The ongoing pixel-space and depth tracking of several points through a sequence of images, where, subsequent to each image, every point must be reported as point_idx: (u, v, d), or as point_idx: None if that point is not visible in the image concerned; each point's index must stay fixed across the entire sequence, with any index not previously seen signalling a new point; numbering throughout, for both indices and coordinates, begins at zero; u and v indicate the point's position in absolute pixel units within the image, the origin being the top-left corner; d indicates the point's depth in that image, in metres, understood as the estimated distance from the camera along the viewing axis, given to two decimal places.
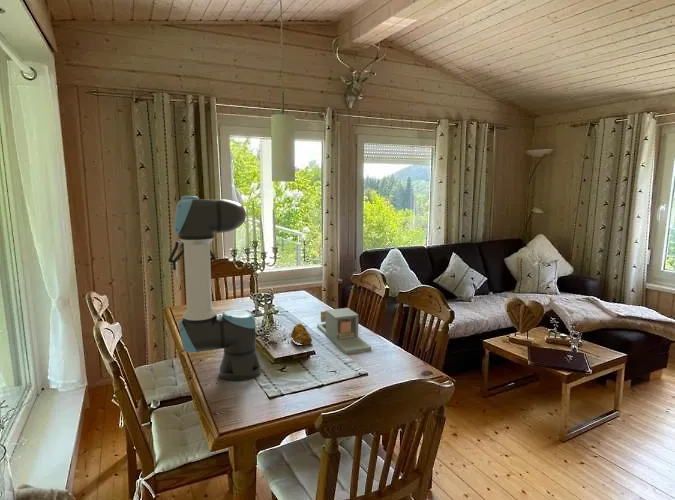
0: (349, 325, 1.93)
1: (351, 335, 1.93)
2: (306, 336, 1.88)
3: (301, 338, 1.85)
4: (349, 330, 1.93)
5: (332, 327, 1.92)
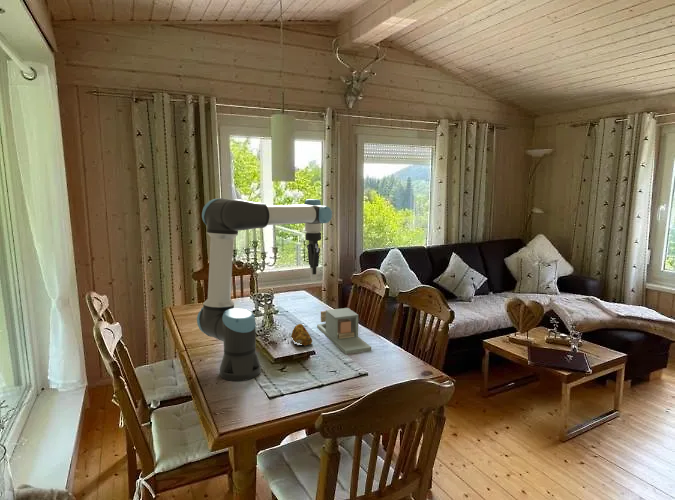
0: (349, 325, 1.93)
1: (351, 335, 1.93)
2: (306, 336, 1.87)
3: (301, 338, 1.85)
4: (349, 330, 1.93)
5: (332, 327, 1.92)
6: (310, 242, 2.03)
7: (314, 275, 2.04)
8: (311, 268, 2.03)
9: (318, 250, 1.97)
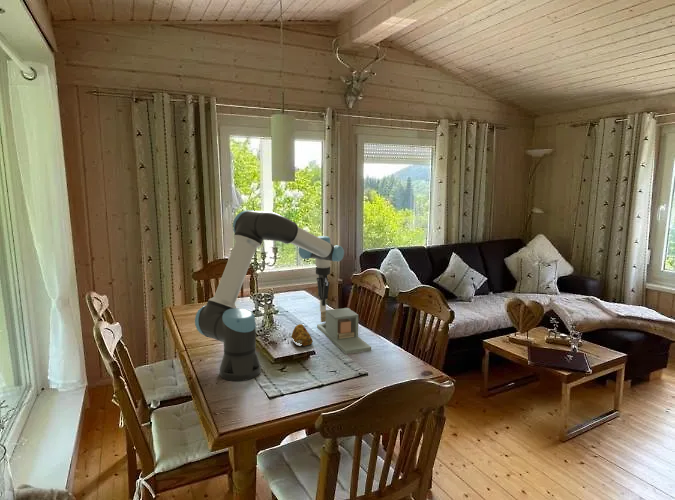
0: (349, 325, 1.93)
1: (351, 335, 1.93)
2: (307, 337, 1.87)
3: (302, 339, 1.85)
4: (349, 330, 1.93)
5: (332, 327, 1.92)
6: (320, 276, 2.18)
7: (323, 306, 2.19)
8: (321, 300, 2.18)
9: (328, 284, 2.13)
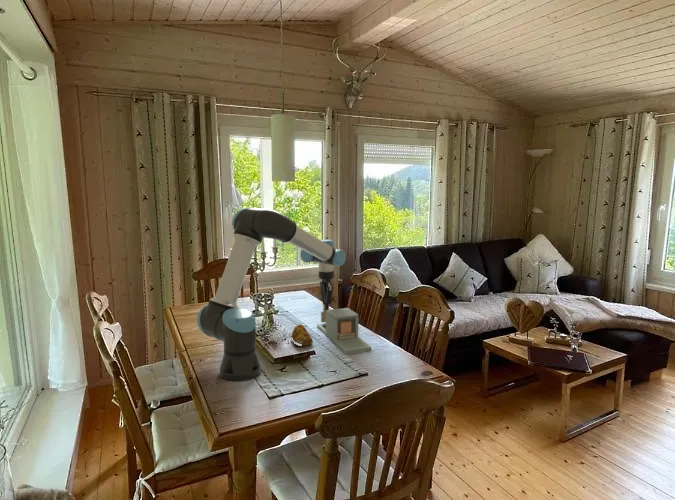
0: (349, 325, 1.92)
1: (351, 335, 1.92)
2: (307, 337, 1.87)
3: (302, 339, 1.84)
4: (349, 330, 1.93)
5: (332, 327, 1.92)
6: (323, 280, 2.14)
7: None
8: (324, 304, 2.14)
9: (331, 288, 2.08)
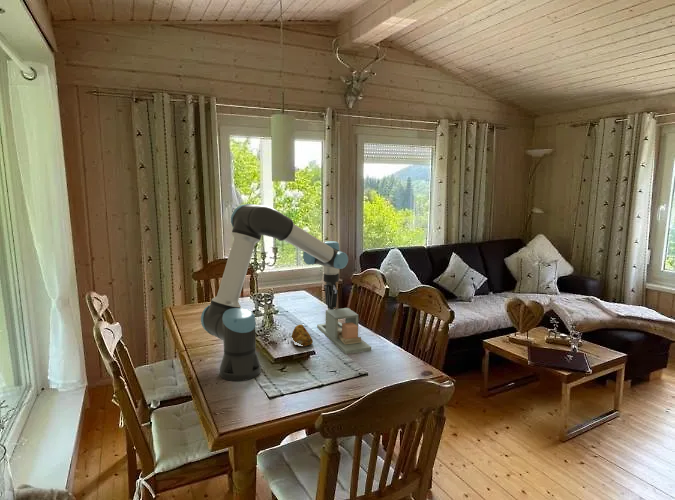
0: (356, 330, 1.86)
1: (358, 340, 1.86)
2: (307, 337, 1.87)
3: (302, 339, 1.84)
4: (356, 335, 1.87)
5: (332, 327, 1.92)
6: (328, 283, 2.07)
7: None
8: (329, 308, 2.08)
9: (336, 292, 2.02)
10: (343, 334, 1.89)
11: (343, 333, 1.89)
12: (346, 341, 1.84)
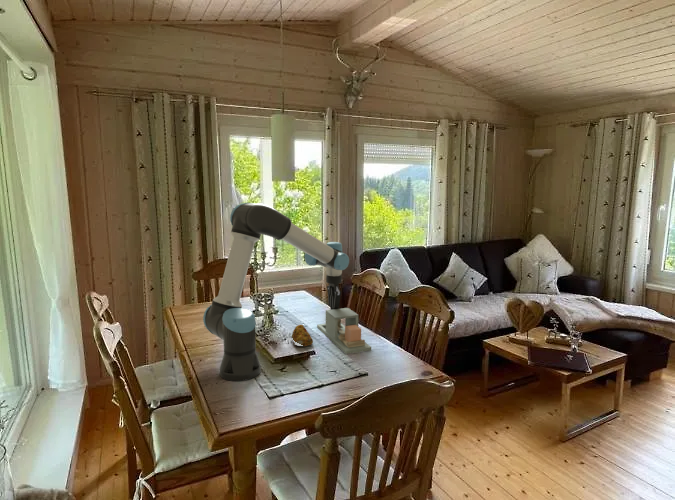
0: (359, 333, 1.83)
1: (361, 343, 1.83)
2: (307, 337, 1.87)
3: (302, 339, 1.84)
4: (359, 338, 1.83)
5: (332, 327, 1.92)
6: (331, 284, 2.04)
7: None
8: None
9: (339, 293, 1.99)
10: (346, 337, 1.85)
11: (346, 336, 1.85)
12: (349, 344, 1.81)
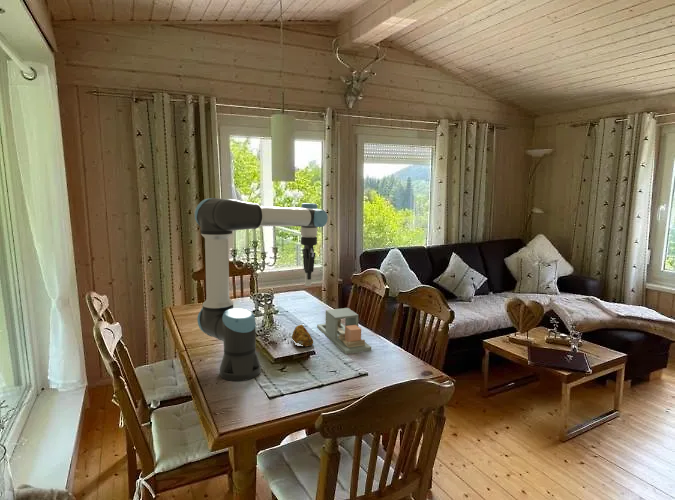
0: (359, 333, 1.83)
1: (361, 343, 1.83)
2: (307, 337, 1.86)
3: (302, 339, 1.84)
4: (359, 338, 1.83)
5: (332, 327, 1.92)
6: (305, 247, 1.99)
7: (309, 280, 2.01)
8: (306, 273, 2.00)
9: (313, 255, 1.94)
10: (346, 337, 1.85)
11: (346, 336, 1.85)
12: (349, 344, 1.81)
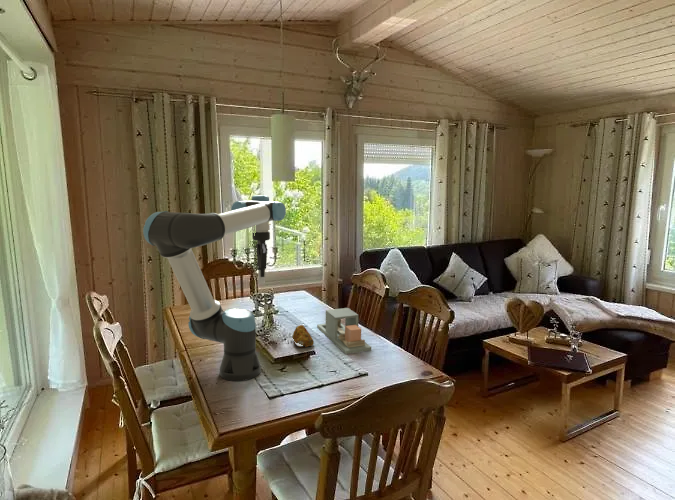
0: (359, 333, 1.83)
1: (361, 343, 1.83)
2: (308, 338, 1.86)
3: (303, 340, 1.83)
4: (359, 338, 1.83)
5: (332, 327, 1.92)
6: (258, 242, 1.87)
7: (262, 278, 1.88)
8: (259, 270, 1.87)
9: (265, 251, 1.81)
10: (346, 337, 1.85)
11: (346, 336, 1.85)
12: (349, 344, 1.81)
